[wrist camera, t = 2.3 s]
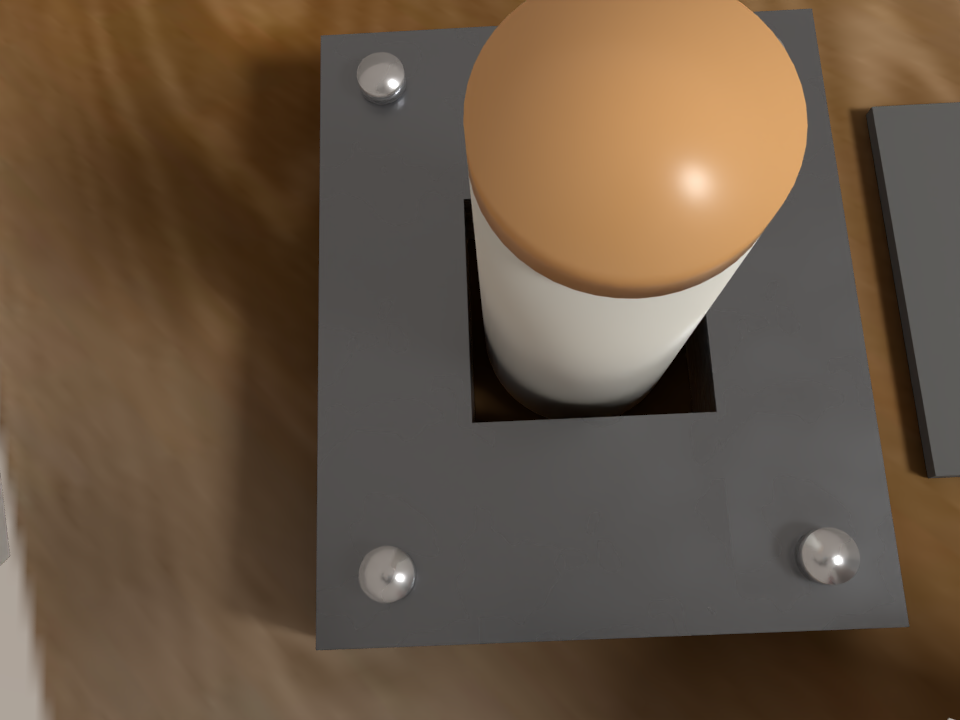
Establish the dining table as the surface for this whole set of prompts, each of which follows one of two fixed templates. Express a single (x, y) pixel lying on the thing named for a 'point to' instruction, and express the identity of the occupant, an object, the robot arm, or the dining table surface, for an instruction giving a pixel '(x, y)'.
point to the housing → (578, 441)
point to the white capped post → (619, 185)
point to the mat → (925, 260)
